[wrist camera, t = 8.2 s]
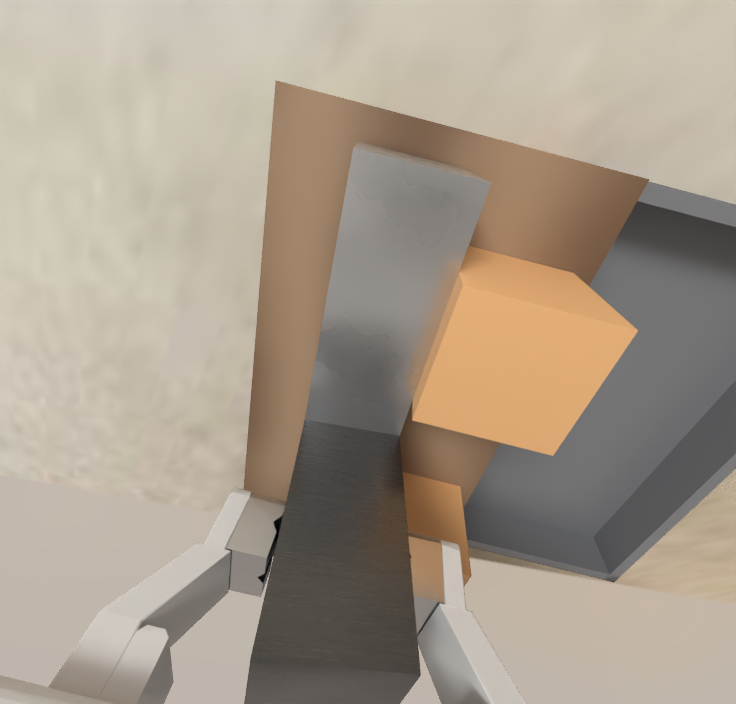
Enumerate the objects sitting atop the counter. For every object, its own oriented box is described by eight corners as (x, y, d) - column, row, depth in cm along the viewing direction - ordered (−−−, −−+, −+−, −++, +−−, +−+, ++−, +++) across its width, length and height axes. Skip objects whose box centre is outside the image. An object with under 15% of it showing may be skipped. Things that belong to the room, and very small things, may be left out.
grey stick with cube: (462, 168, 11) (704, 289, 3) (343, 538, 20) (325, 803, 12) (358, 141, 10) (316, 197, 3) (286, 530, 19) (231, 797, 12)
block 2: (573, 273, 12) (638, 330, 8) (519, 375, 14) (553, 455, 10) (449, 240, 12) (462, 285, 8) (413, 348, 14) (412, 420, 10)
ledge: (580, 166, 15) (649, 179, 10) (426, 494, 25) (428, 570, 20) (317, 96, 14) (275, 80, 10) (271, 456, 25) (240, 524, 20)
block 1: (460, 486, 17) (471, 575, 14) (433, 537, 19) (436, 626, 16) (374, 464, 17) (363, 549, 13) (356, 518, 19) (343, 603, 16)
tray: (861, 240, 15) (956, 262, 12) (593, 536, 25) (613, 582, 22) (580, 166, 15) (616, 173, 12) (426, 494, 25) (427, 536, 22)
